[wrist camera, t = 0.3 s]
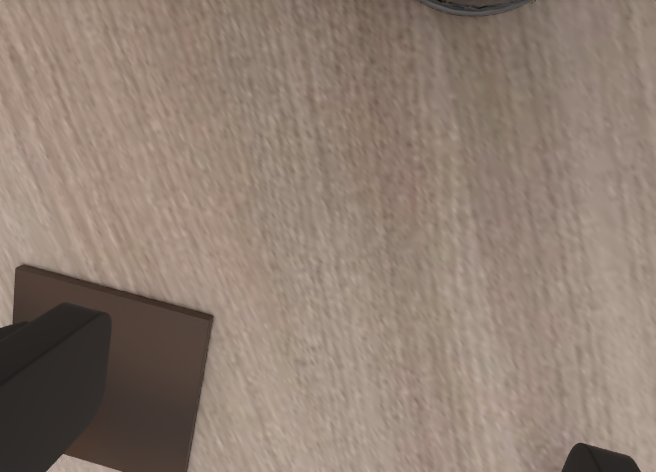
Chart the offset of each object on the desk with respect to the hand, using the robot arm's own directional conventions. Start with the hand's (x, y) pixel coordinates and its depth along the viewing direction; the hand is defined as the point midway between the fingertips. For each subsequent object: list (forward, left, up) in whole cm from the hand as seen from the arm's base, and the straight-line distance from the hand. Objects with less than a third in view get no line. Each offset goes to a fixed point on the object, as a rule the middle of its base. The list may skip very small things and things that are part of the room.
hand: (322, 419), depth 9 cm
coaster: (+13, -13, -17) cm, 25 cm away
